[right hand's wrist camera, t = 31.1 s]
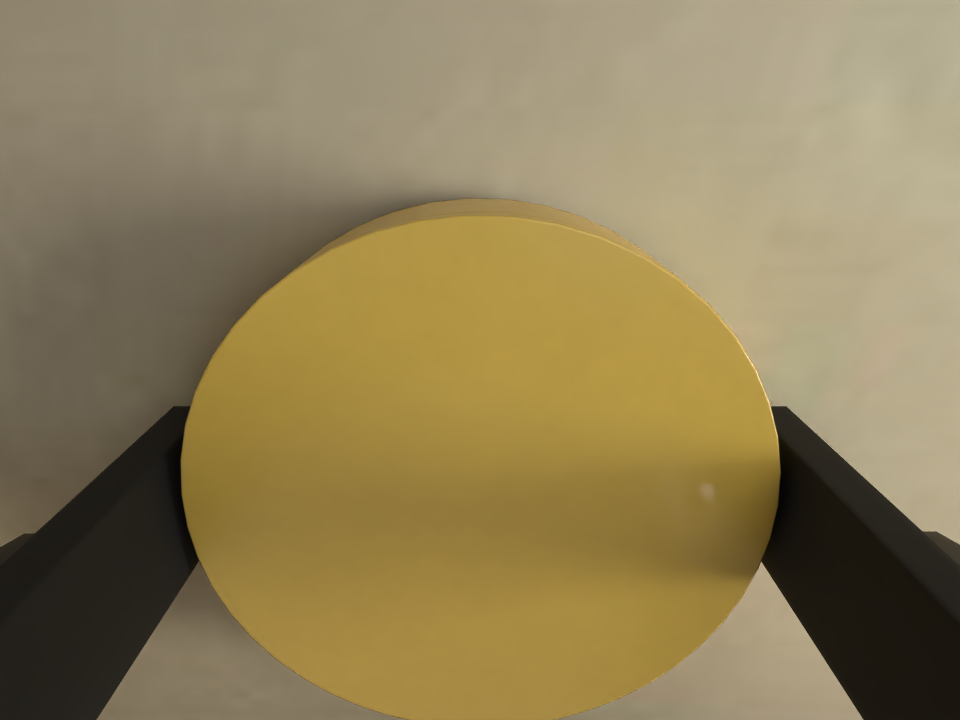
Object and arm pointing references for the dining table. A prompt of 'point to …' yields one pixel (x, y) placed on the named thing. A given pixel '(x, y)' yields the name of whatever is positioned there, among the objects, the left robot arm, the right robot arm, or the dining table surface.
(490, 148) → the dining table surface
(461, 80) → the dining table surface
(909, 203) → the dining table surface
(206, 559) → the lid
